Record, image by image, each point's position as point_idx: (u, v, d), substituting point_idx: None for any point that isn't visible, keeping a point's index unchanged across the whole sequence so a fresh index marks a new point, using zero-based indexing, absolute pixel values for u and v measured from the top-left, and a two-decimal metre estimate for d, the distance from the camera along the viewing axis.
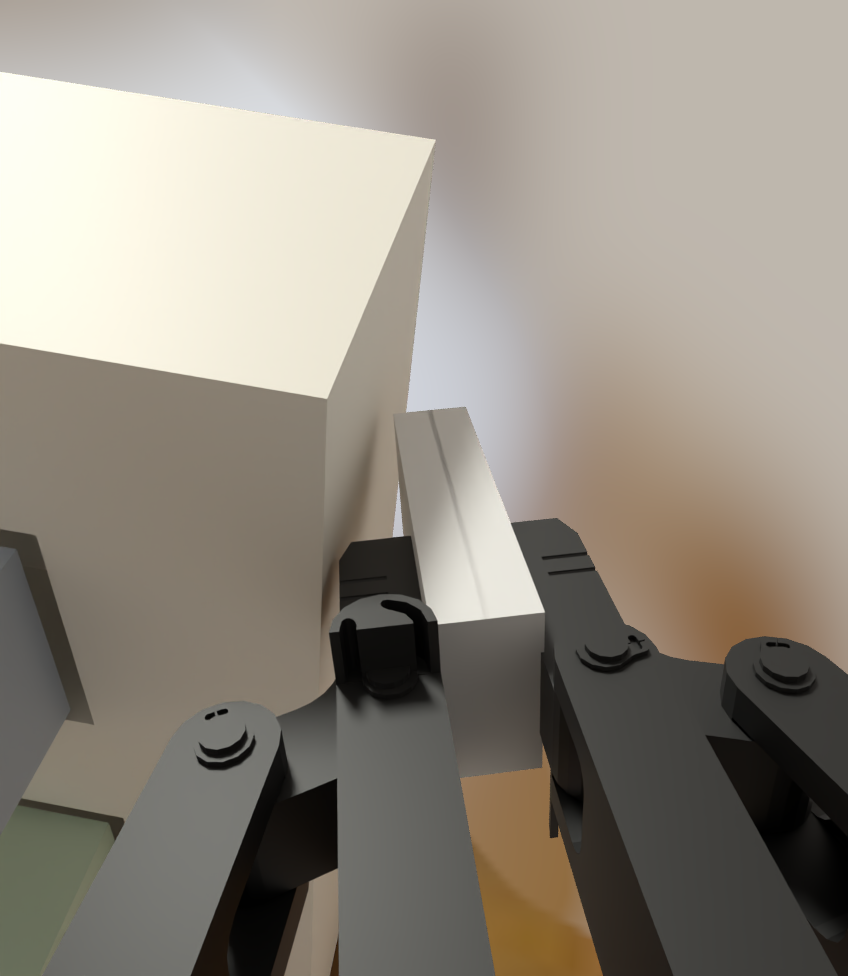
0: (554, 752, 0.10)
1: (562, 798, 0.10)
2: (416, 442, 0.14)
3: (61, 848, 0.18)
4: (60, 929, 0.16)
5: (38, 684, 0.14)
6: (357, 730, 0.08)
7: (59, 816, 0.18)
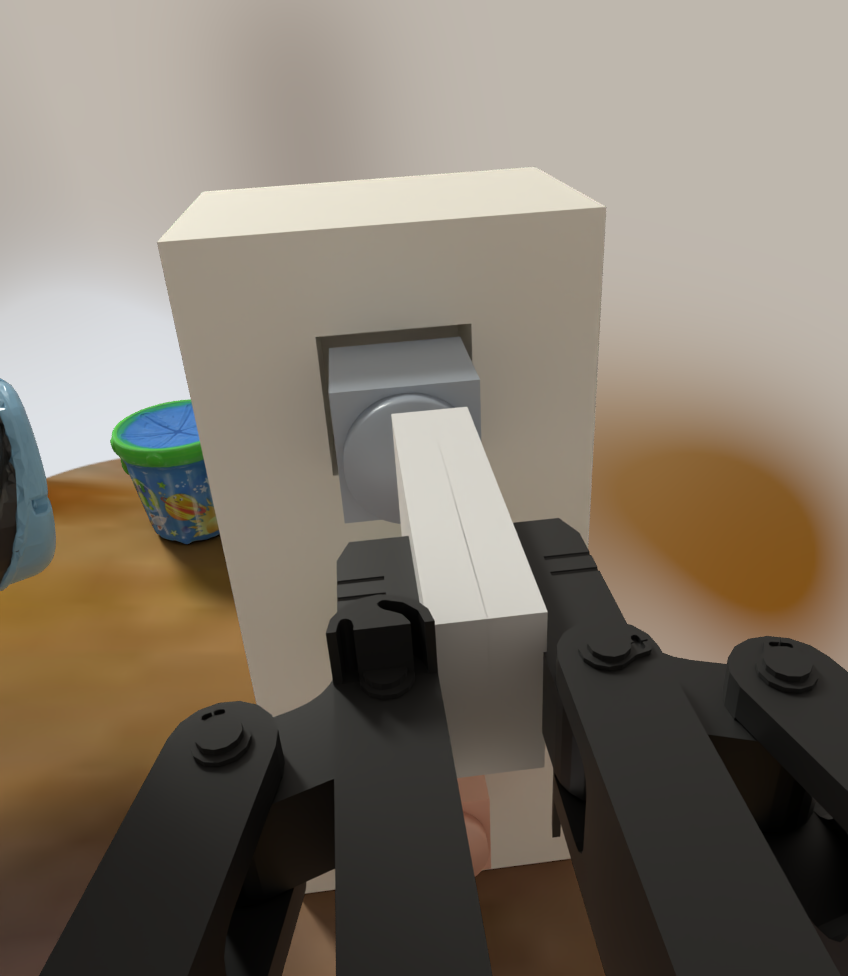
0: (557, 752, 0.10)
1: (565, 798, 0.10)
2: (414, 443, 0.14)
3: None
4: None
5: None
6: (354, 730, 0.08)
7: None
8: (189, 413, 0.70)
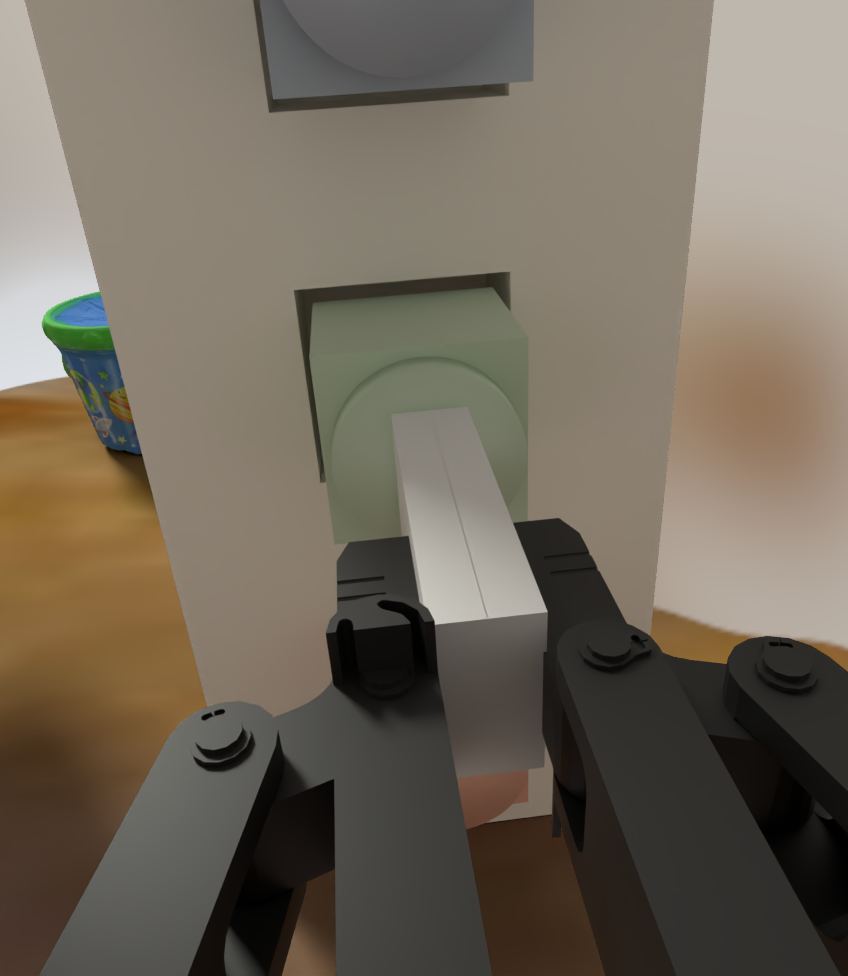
0: (557, 752, 0.10)
1: (565, 798, 0.10)
2: (414, 443, 0.14)
3: (466, 297, 0.19)
4: (511, 314, 0.17)
5: None
6: (354, 730, 0.08)
7: (447, 291, 0.19)
8: None
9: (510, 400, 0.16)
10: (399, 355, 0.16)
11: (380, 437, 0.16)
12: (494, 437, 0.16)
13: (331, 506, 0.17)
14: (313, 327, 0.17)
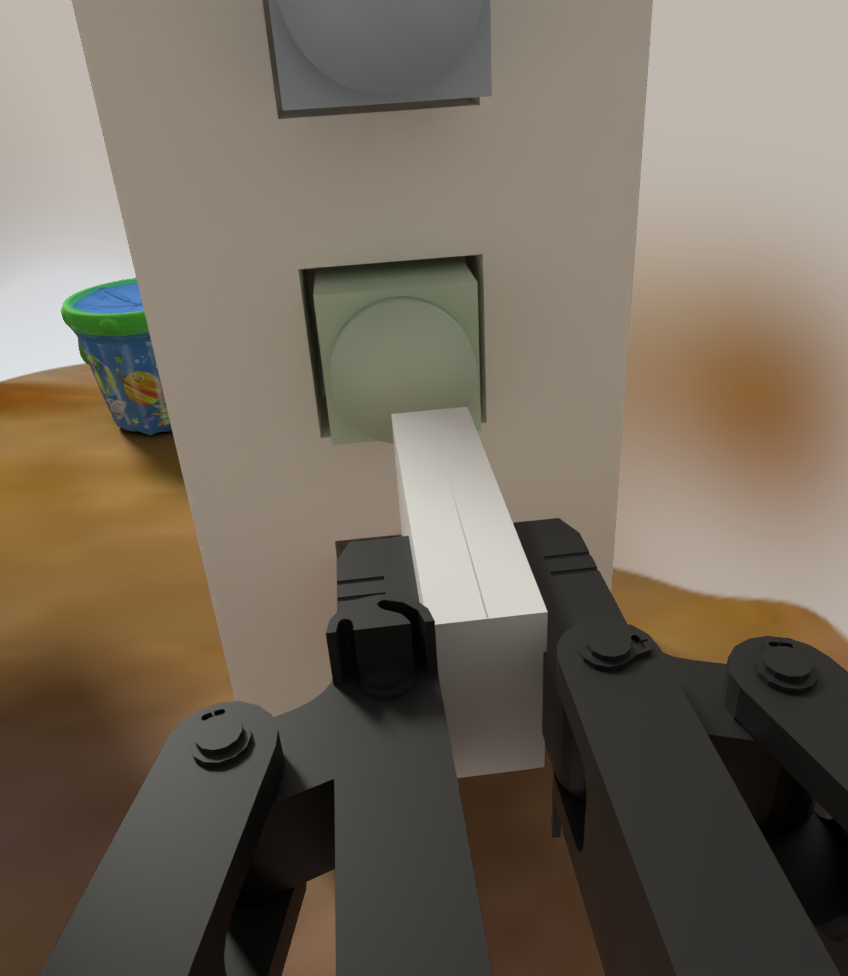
0: (557, 752, 0.10)
1: (565, 798, 0.10)
2: (415, 443, 0.14)
3: None
4: (467, 268, 0.23)
5: None
6: (354, 730, 0.08)
7: None
8: None
9: (465, 331, 0.22)
10: (380, 295, 0.21)
11: (366, 356, 0.21)
12: (451, 357, 0.21)
13: (330, 414, 0.23)
14: (316, 277, 0.23)
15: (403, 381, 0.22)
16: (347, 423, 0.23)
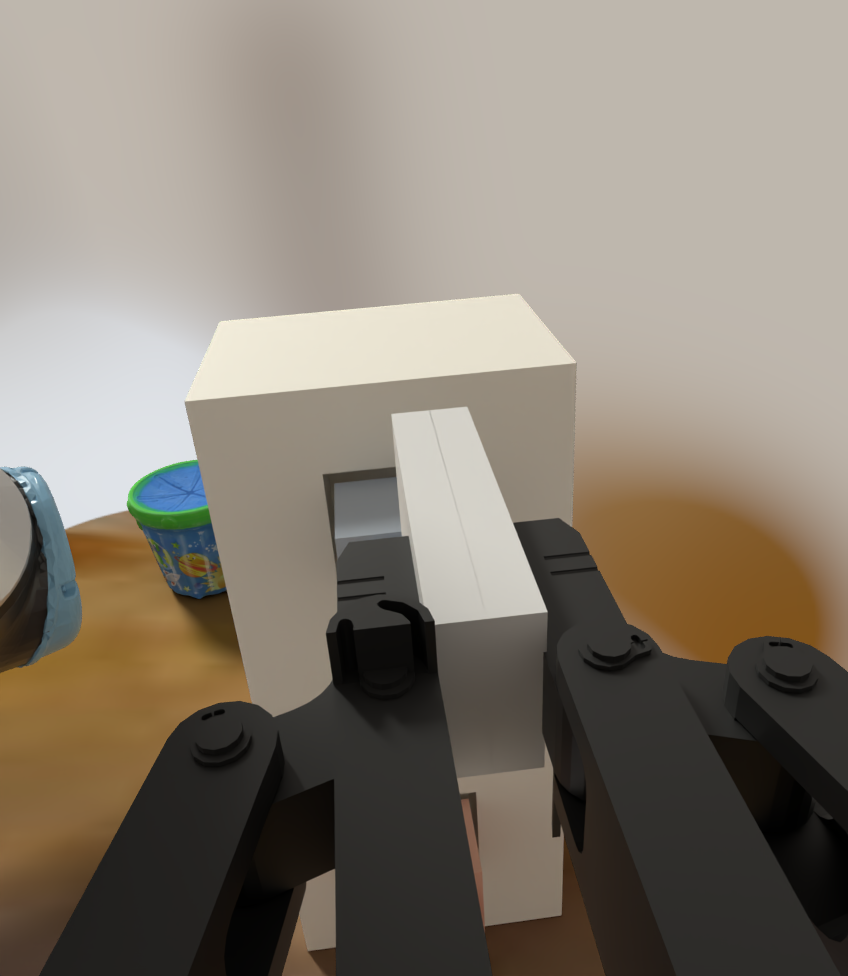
0: (557, 752, 0.10)
1: (565, 798, 0.10)
2: (415, 443, 0.14)
3: None
4: None
5: None
6: (354, 730, 0.08)
7: None
8: None
9: None
10: None
11: None
12: None
13: None
14: None
15: None
16: None
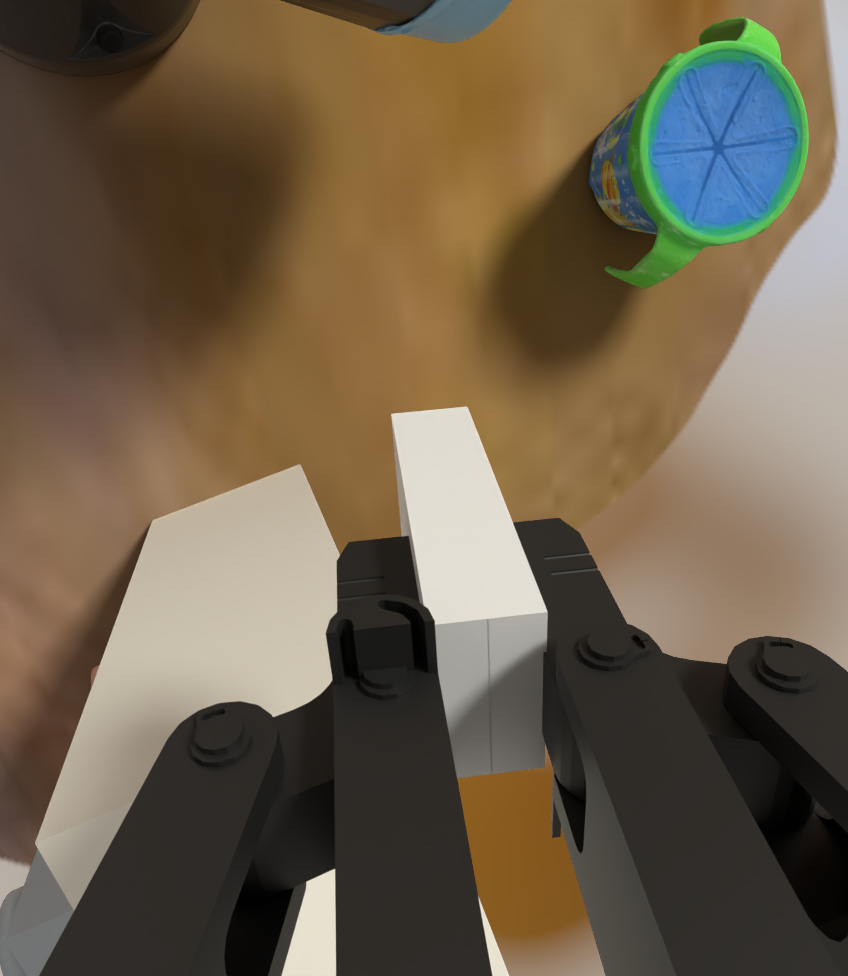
0: (557, 752, 0.10)
1: (565, 798, 0.10)
2: (414, 442, 0.14)
3: None
4: None
5: None
6: (354, 730, 0.08)
7: None
8: (770, 141, 0.44)
9: None
10: None
11: None
12: None
13: None
14: None
15: None
16: None
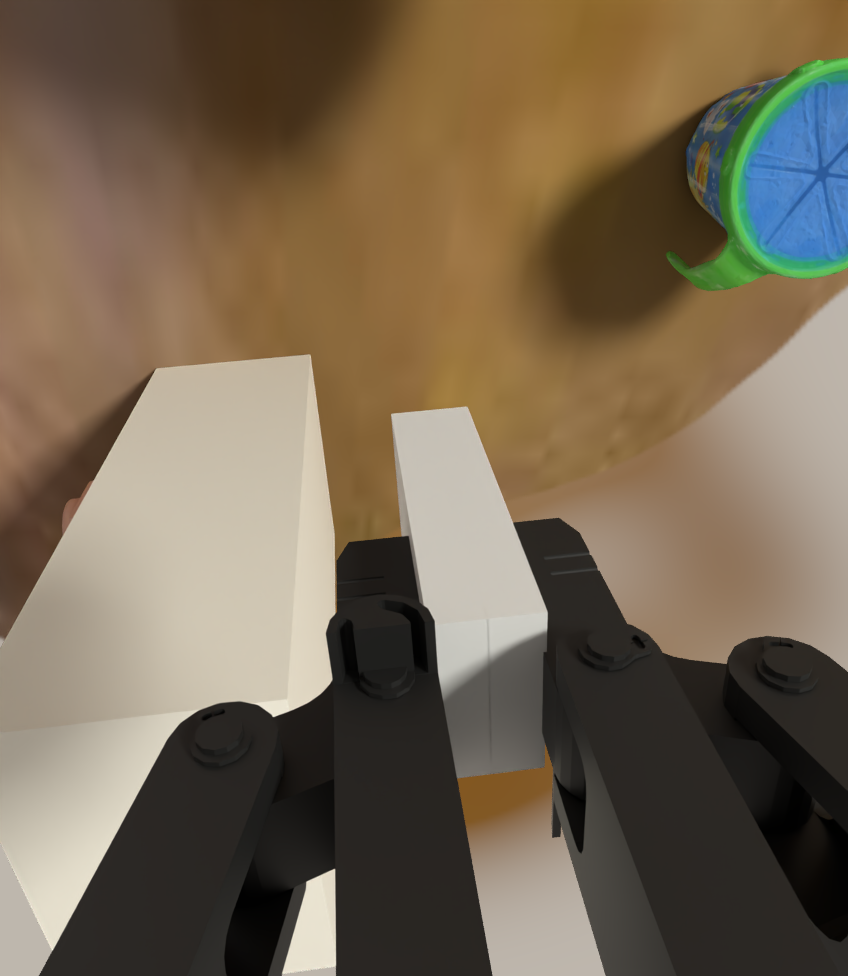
0: (557, 752, 0.10)
1: (565, 798, 0.10)
2: (414, 443, 0.14)
3: None
4: None
5: None
6: (354, 730, 0.08)
7: None
8: None
9: None
10: None
11: None
12: None
13: None
14: None
15: None
16: None
